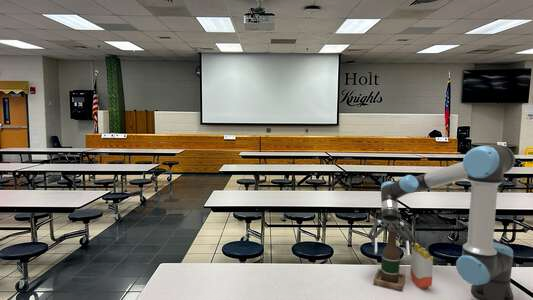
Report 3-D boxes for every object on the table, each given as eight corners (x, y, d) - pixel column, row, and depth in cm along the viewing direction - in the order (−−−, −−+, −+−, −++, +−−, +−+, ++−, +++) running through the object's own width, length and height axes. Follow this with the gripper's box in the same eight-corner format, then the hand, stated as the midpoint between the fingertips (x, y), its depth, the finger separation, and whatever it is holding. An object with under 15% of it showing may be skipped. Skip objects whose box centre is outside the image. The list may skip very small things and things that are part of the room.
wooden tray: (405, 279, 162) (405, 274, 162) (401, 291, 152) (402, 286, 151) (378, 273, 168) (378, 268, 168) (373, 284, 157) (373, 279, 157)
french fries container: (419, 278, 164) (421, 241, 162) (432, 290, 153) (435, 251, 151) (409, 278, 163) (412, 241, 161) (422, 291, 153) (425, 251, 150)
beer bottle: (400, 285, 155) (403, 232, 152) (381, 283, 157) (384, 231, 154) (397, 277, 163) (400, 226, 160) (379, 275, 164) (382, 225, 161)
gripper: (416, 217, 169) (420, 260, 156) (362, 213, 174) (362, 254, 161) (419, 210, 163) (423, 254, 150) (363, 205, 168) (363, 248, 156)
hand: (392, 254), depth 156 cm, fingers open, 13 cm apart
